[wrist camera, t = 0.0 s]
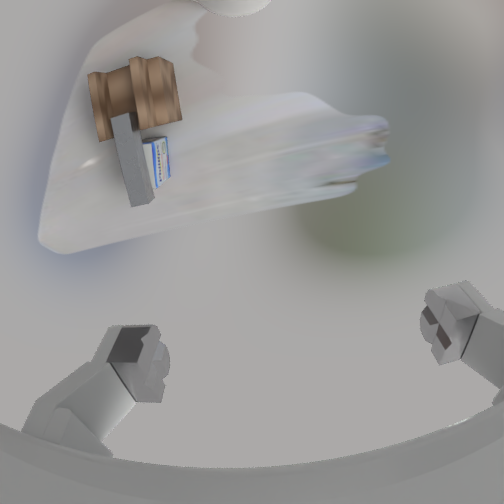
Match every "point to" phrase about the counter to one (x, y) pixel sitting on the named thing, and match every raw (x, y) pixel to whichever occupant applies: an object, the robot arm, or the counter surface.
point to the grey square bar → (132, 158)
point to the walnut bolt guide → (135, 94)
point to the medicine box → (157, 160)
